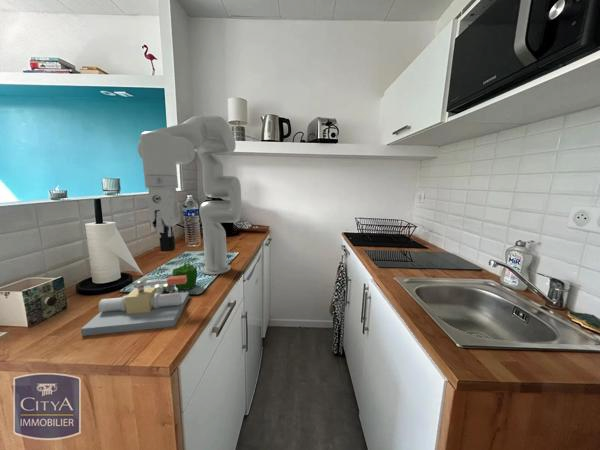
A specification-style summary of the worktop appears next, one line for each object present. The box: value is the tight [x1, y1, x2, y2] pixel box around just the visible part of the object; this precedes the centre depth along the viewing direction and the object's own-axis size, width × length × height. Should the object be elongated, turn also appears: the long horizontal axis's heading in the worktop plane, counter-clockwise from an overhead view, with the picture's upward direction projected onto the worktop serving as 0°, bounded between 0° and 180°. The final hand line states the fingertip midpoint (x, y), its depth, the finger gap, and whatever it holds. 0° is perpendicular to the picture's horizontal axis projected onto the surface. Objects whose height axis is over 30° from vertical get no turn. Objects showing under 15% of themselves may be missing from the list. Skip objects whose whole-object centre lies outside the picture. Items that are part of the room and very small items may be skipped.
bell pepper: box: [172, 262, 198, 291], centre depth 93 cm, size 8×8×10 cm
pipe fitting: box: [149, 278, 176, 294], centre depth 90 cm, size 8×4×7 cm
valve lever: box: [133, 275, 187, 292], centre depth 75 cm, size 14×3×3 cm, turn 106°
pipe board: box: [80, 287, 190, 337], centre depth 74 cm, size 18×22×7 cm
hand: (168, 250), depth 67 cm, fingers closed
